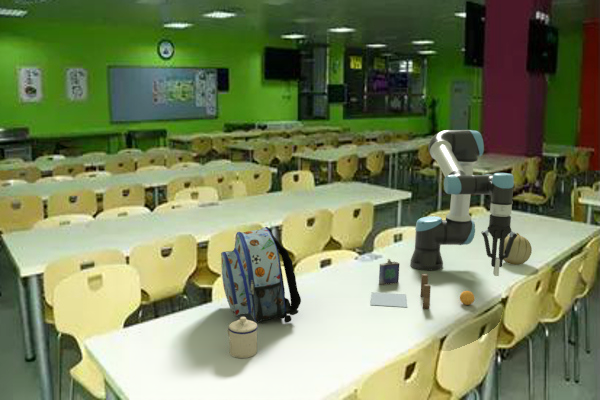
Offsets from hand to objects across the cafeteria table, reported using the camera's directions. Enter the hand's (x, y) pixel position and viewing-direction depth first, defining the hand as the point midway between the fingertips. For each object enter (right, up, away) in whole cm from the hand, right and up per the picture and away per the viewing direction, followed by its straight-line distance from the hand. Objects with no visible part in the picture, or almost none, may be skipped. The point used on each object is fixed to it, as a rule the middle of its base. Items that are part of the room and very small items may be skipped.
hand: (495, 274), depth 215 cm
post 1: (-25, -10, +12) cm, 30 cm away
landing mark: (-40, -11, +8) cm, 42 cm away
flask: (-37, -8, +28) cm, 47 cm away
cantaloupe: (+28, -3, +56) cm, 63 cm away
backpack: (-92, -13, -4) cm, 93 cm away
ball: (-10, -9, +4) cm, 14 cm away
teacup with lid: (-94, -20, -36) cm, 103 cm away
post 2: (-27, -13, 0) cm, 30 cm away
